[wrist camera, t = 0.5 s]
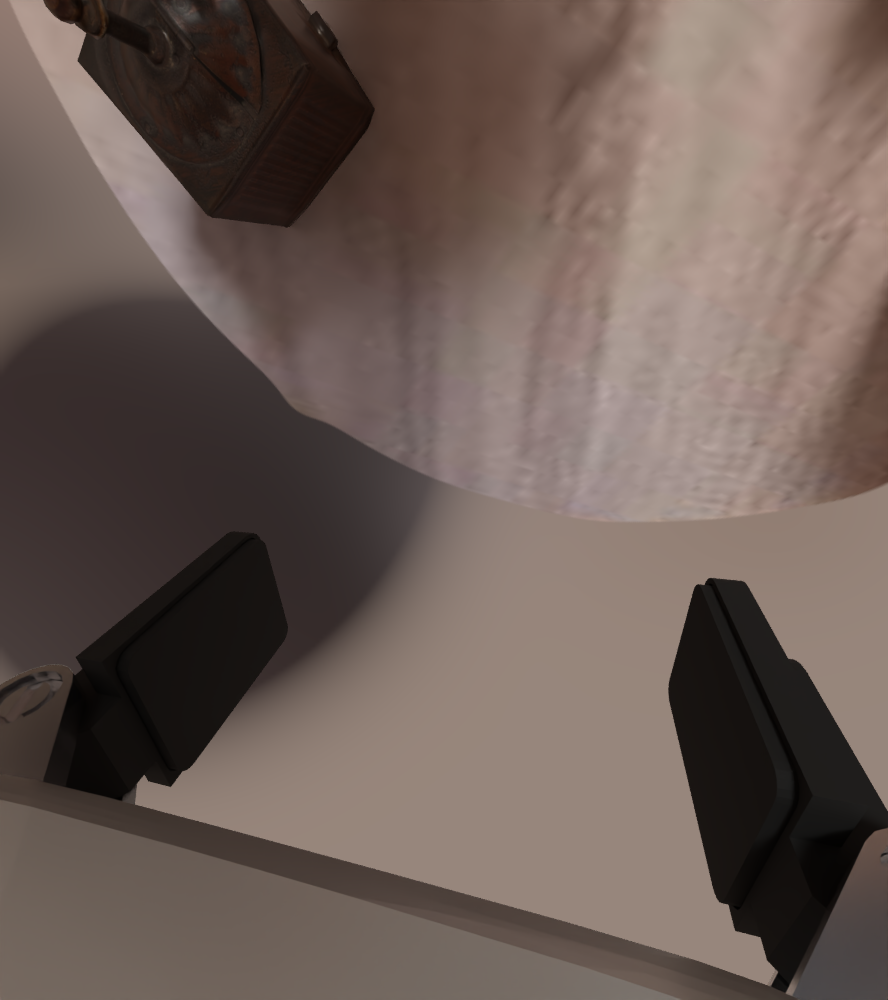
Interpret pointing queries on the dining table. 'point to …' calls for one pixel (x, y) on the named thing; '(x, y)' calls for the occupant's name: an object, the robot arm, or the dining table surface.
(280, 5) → the manual coffee grinder
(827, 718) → the robot arm
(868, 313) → the dining table surface
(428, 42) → the dining table surface
